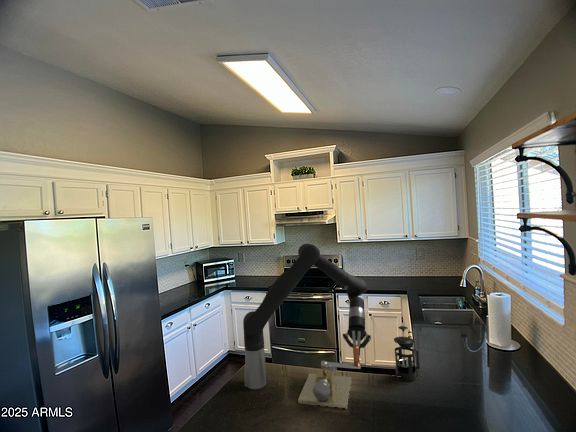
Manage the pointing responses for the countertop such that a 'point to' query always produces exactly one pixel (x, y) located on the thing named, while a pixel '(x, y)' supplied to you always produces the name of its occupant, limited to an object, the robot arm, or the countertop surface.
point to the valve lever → (344, 365)
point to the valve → (326, 389)
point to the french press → (406, 364)
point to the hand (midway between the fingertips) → (356, 356)
